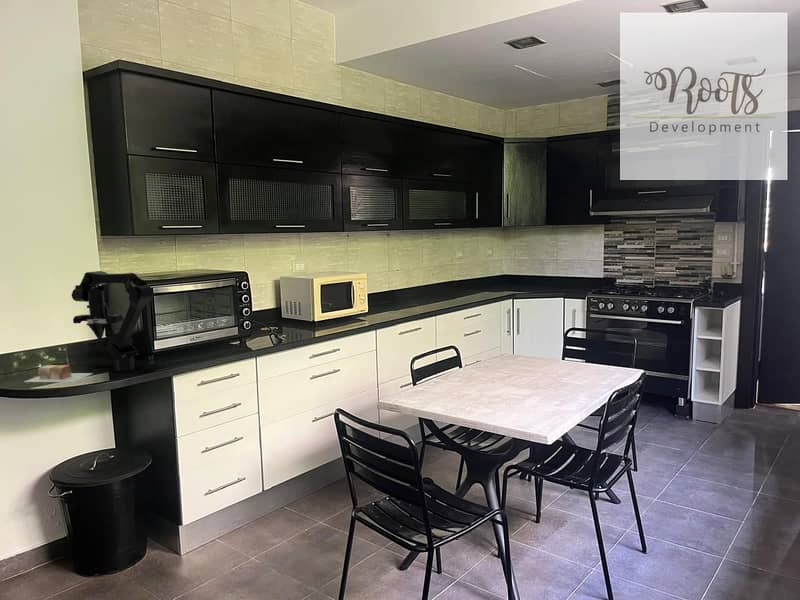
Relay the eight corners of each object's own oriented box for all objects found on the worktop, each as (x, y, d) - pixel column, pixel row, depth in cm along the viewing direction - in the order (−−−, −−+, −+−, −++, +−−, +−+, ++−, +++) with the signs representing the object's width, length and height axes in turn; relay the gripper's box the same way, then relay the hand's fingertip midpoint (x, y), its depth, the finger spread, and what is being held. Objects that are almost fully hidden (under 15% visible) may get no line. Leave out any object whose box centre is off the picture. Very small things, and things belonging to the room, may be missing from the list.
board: (93, 375, 236) (93, 373, 236) (71, 384, 223) (71, 382, 223) (48, 375, 238) (47, 373, 238) (23, 384, 226) (23, 381, 225)
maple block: (69, 365, 231) (46, 365, 232) (62, 368, 227) (38, 368, 228) (71, 376, 232) (47, 376, 233) (63, 379, 227) (39, 379, 229)
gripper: (129, 299, 248) (132, 335, 250) (88, 299, 250) (91, 335, 252) (113, 302, 237) (116, 340, 239) (70, 303, 239) (74, 340, 241)
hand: (100, 339), depth 243 cm, fingers closed
